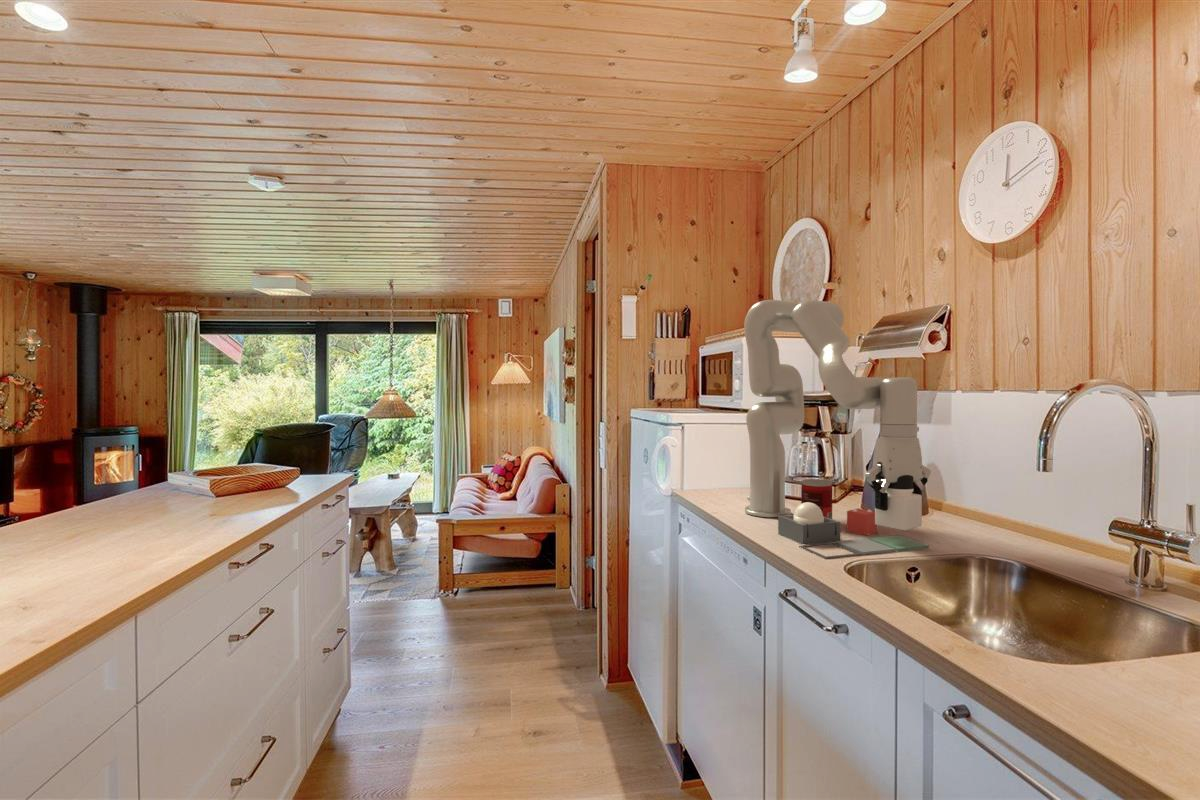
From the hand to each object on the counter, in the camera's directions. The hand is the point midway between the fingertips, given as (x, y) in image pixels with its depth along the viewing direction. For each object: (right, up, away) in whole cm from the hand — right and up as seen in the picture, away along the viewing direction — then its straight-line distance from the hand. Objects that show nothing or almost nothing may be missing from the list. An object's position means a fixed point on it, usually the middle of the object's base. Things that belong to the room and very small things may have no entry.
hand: (898, 507), depth 130 cm
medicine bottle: (0, -4, 0) cm, 4 cm away
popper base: (-18, -8, +7) cm, 21 cm away
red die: (-3, -8, +12) cm, 15 cm away
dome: (-18, -6, +7) cm, 20 cm away
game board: (-9, -8, -2) cm, 12 cm away
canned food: (-11, -8, +21) cm, 25 cm away
